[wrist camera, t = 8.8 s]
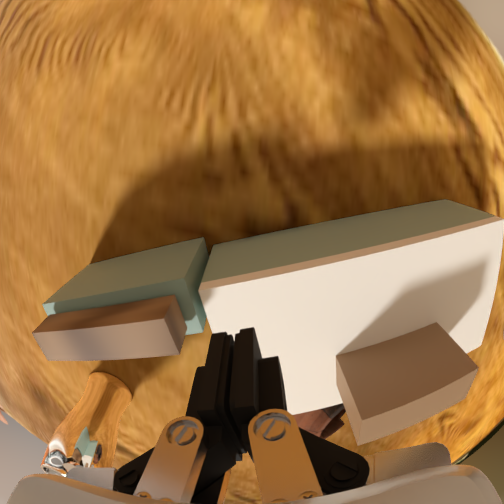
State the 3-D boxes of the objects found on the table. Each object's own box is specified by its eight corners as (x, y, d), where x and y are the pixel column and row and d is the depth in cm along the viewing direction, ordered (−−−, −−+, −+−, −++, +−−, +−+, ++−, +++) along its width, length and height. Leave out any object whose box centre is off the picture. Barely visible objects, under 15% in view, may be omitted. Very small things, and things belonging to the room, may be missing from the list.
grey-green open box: (445, 190, 21) (502, 208, 13) (439, 306, 25) (479, 344, 18) (89, 264, 22) (42, 304, 15) (139, 370, 26) (118, 423, 19)
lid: (486, 212, 16) (556, 241, 8) (468, 333, 19) (512, 379, 12) (203, 274, 16) (177, 358, 9) (246, 402, 20) (248, 481, 13)
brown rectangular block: (174, 294, 14) (163, 318, 12) (187, 327, 15) (179, 354, 13) (49, 314, 15) (31, 332, 12) (63, 340, 15) (48, 360, 13)
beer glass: (89, 395, 28) (49, 479, 14) (83, 360, 26) (28, 454, 12) (136, 412, 29) (107, 505, 15) (135, 379, 27) (95, 488, 13)
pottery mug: (295, 331, 26) (356, 383, 19) (333, 347, 32) (382, 386, 25) (226, 416, 26) (269, 472, 19) (276, 416, 32) (314, 458, 25)
